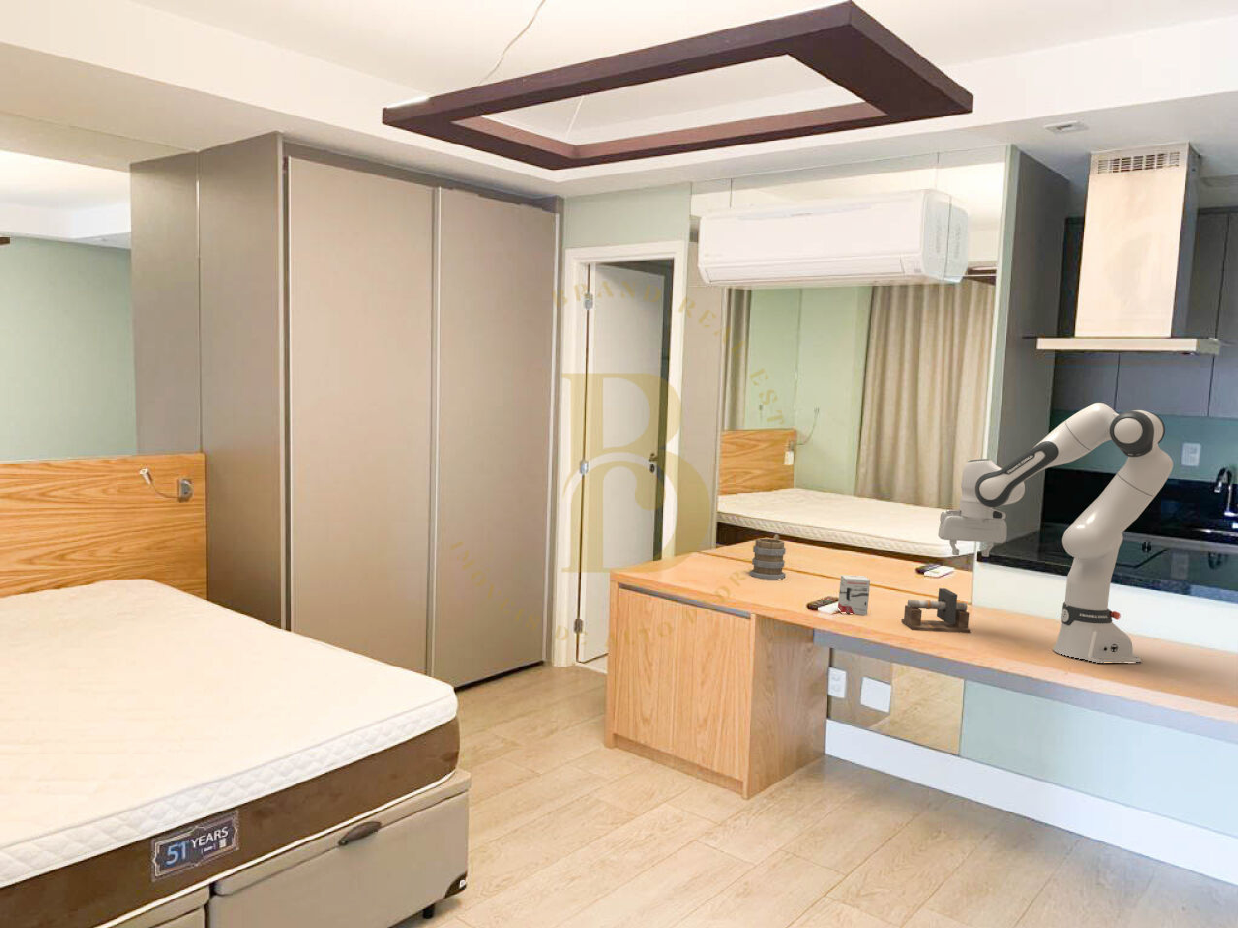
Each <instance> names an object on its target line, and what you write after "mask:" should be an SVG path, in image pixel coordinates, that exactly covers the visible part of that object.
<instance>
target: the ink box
mask: <svg viewBox="0 0 1238 928" xmlns="http://www.w3.org/2000/svg"><path fill="white" fill-rule="evenodd" d="M870 585H871V579H869V578H867V577H866V576H865V575H864V576H863V575H862V576H861V575H846V574H845V575H840V582H839V590H838V591H839V593H838V604H837V609H838V608H839V609H840V610H841V612H846V613H853V614H858V615H857V616H867V615H868V608H869V599H870V597H869V596H870ZM853 614H852V615H853Z"/></svg>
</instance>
